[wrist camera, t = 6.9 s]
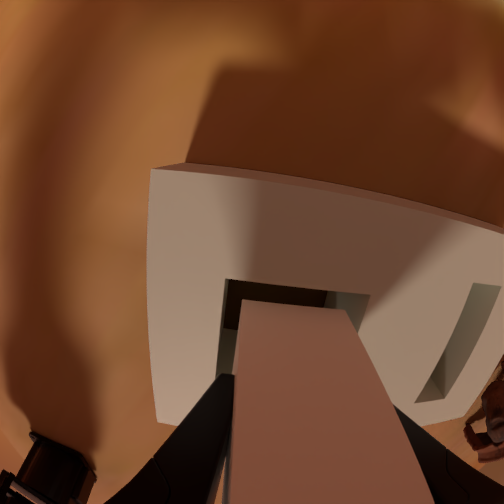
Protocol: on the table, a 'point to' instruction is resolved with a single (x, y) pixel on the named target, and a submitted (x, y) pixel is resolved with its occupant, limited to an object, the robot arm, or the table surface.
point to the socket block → (322, 281)
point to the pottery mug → (490, 425)
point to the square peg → (313, 416)
